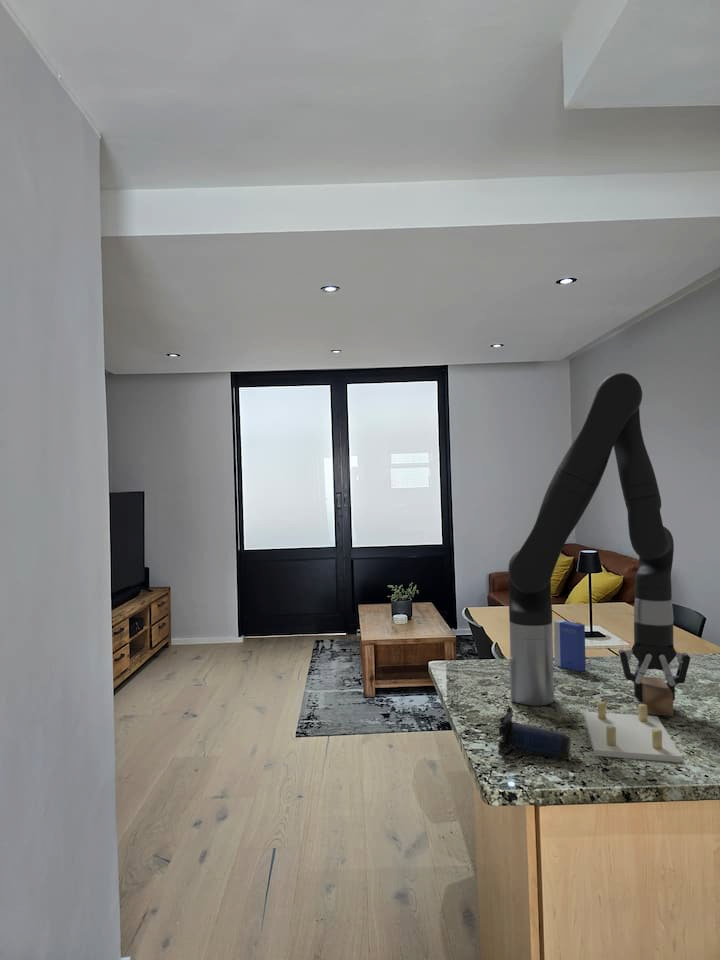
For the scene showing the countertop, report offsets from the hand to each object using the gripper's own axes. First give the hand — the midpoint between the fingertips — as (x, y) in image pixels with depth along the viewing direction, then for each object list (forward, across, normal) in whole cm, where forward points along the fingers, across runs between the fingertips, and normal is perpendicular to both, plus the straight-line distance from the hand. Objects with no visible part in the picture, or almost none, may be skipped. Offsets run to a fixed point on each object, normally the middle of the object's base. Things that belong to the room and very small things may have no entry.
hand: (654, 701), depth 137 cm
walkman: (+2, +15, -30) cm, 34 cm away
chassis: (+2, +8, +17) cm, 19 cm away
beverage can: (+3, +24, +28) cm, 37 cm away
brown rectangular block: (+1, 0, 0) cm, 1 cm away
